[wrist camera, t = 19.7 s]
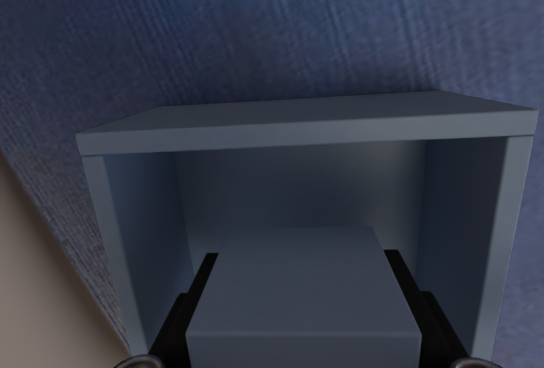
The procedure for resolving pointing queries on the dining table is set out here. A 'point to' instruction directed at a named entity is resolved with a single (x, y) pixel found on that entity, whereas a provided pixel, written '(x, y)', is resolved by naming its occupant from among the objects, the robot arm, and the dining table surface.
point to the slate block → (303, 303)
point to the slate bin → (314, 192)
